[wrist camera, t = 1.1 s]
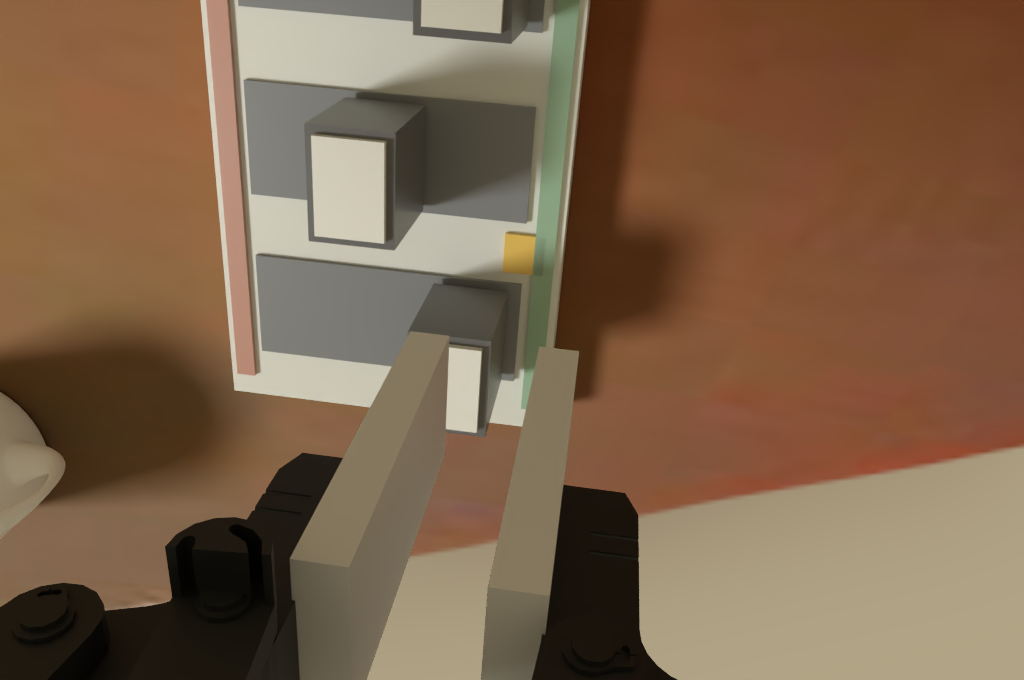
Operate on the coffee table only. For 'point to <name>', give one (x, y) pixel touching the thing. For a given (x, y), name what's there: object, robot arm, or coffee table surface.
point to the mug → (23, 465)
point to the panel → (447, 186)
